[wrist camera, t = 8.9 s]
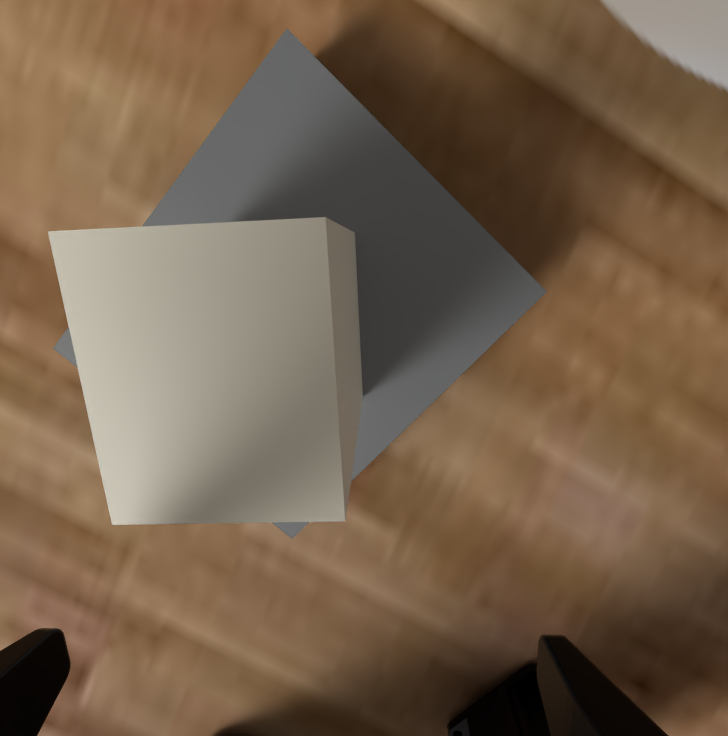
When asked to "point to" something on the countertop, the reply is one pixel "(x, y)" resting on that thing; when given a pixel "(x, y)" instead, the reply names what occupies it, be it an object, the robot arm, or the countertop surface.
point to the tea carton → (218, 367)
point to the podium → (358, 233)
